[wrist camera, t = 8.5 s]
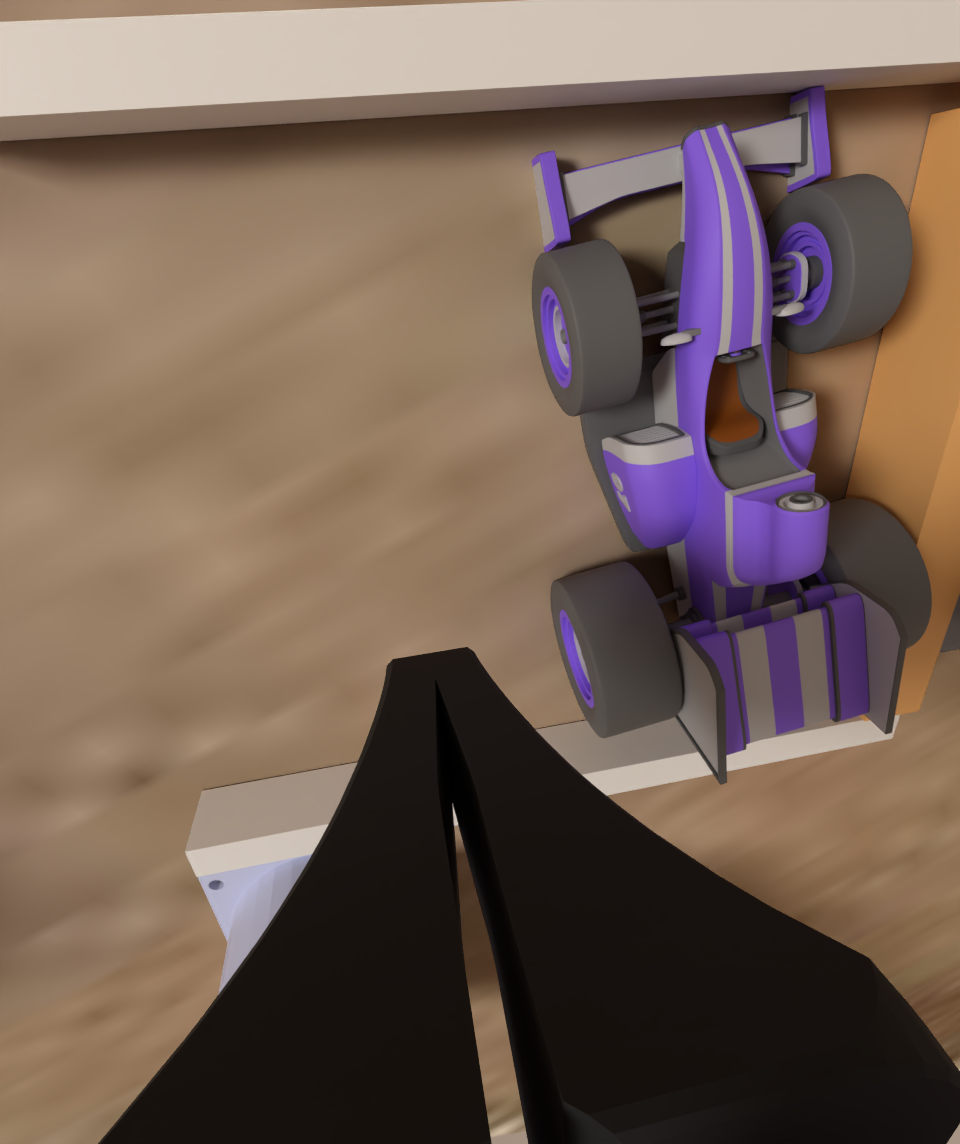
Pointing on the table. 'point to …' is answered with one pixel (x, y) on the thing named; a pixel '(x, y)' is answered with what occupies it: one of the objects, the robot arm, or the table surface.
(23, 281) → the table surface
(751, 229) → the toy race car
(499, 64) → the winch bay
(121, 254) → the table surface
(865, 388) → the table surface
